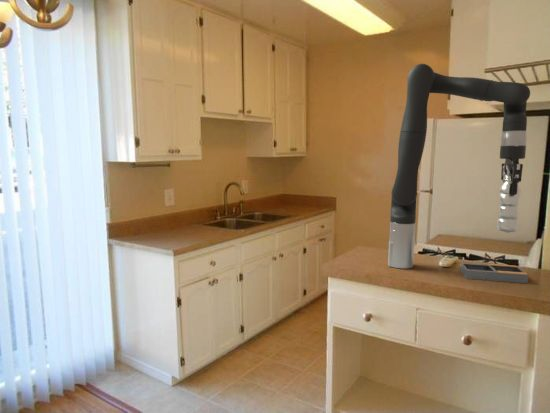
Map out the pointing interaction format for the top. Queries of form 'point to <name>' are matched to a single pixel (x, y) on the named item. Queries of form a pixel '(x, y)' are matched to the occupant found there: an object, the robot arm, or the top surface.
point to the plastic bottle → (508, 208)
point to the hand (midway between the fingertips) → (509, 193)
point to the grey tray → (494, 272)
